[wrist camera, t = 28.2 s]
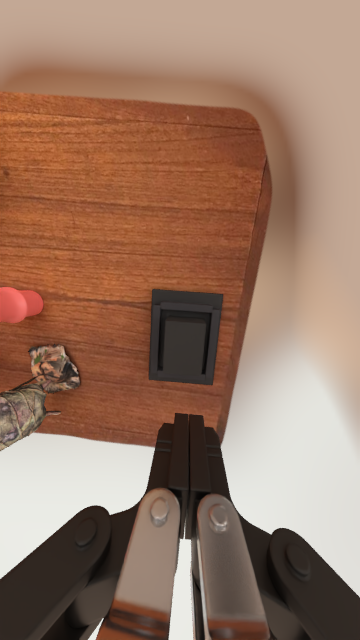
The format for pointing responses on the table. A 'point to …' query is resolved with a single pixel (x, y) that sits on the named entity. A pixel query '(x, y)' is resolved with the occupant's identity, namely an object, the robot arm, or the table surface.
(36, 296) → the figurine
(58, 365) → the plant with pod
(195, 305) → the base pad
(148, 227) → the table surface
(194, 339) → the small black block
